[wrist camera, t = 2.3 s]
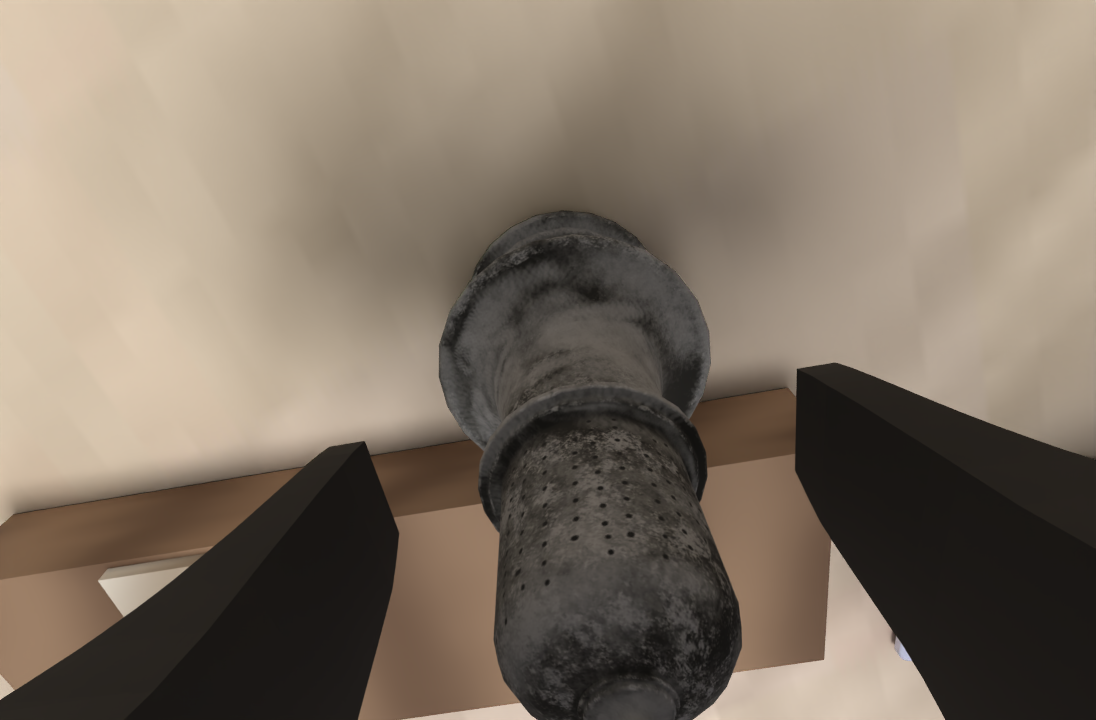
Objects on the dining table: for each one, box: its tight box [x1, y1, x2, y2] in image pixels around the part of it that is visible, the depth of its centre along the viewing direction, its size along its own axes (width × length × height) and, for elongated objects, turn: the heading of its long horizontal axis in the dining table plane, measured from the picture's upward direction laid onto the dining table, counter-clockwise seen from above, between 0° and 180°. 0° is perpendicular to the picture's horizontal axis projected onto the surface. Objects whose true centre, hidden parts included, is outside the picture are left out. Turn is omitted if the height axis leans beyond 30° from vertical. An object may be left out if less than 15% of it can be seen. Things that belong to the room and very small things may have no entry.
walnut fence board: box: [0, 388, 831, 720], centre depth 18 cm, size 24×8×3 cm, turn 100°
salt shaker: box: [439, 211, 742, 720], centre depth 11 cm, size 6×6×12 cm
